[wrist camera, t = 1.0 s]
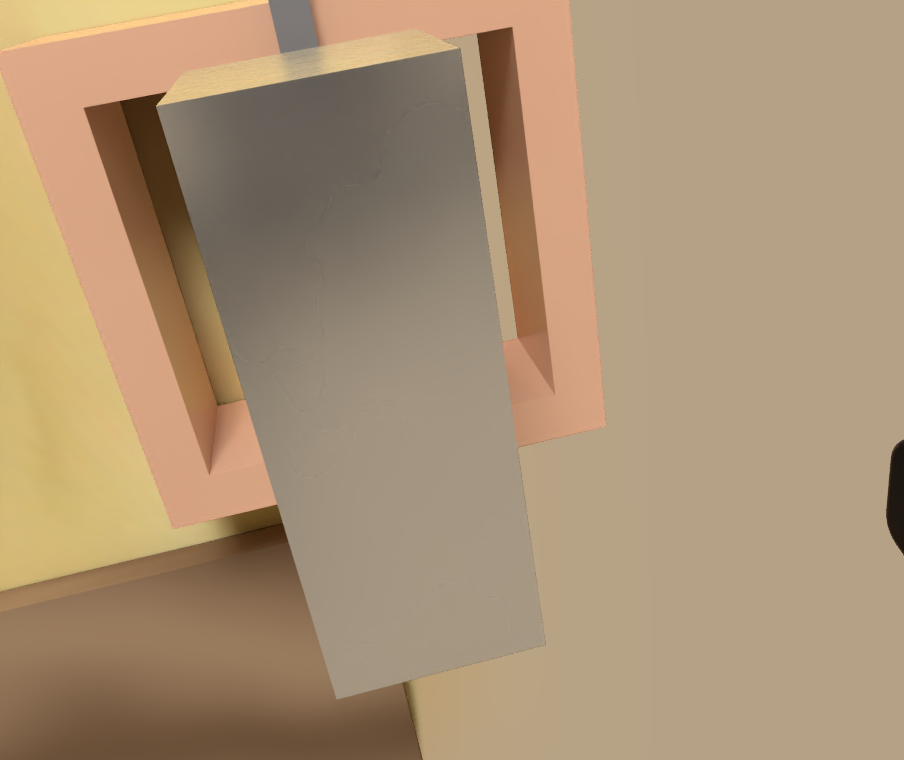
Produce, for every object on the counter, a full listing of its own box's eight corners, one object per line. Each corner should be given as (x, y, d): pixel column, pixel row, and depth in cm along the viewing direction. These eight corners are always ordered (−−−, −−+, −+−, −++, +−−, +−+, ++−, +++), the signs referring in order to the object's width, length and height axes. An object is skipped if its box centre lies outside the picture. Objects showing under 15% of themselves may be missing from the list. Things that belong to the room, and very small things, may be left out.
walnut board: (438, 820, 27) (442, 844, 26) (43, 930, 26) (37, 957, 25) (358, 506, 21) (361, 524, 21) (-148, 627, 20) (-163, 651, 19)
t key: (479, 366, 20) (613, 626, 12) (267, 414, 20) (264, 718, 12) (420, -2, 17) (556, 30, 9) (159, 46, 16) (48, 125, 8)
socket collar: (562, 366, 21) (612, 435, 18) (186, 453, 20) (171, 541, 17) (514, -79, 16) (569, -88, 13) (30, 8, 15) (-29, 19, 12)
